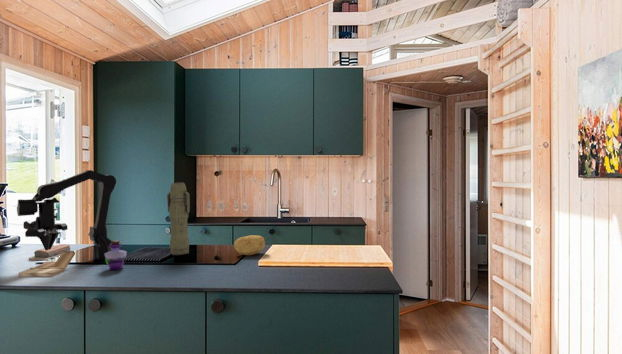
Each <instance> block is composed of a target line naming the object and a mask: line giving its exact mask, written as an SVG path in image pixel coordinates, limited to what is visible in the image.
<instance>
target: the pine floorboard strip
mask: <svg viewBox="0 0 622 354" xmlns="http://www.w3.org/2000/svg"><path fill="white" fill-rule="evenodd" d="M64 272H65V270H64V268H33V267H29V268H28V269H25V270H23V271H20V272H18V277H54V276H57V275H60V274H62V273H64Z"/></svg>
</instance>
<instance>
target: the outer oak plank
mask: <svg viewBox="0 0 622 354" xmlns="http://www.w3.org/2000/svg"><path fill="white" fill-rule="evenodd" d="M55 262H56V261H45V262H43V263H42V264H39V265H37V266H34V267H33V266H32V268H52V267H53V265H54V264H55Z"/></svg>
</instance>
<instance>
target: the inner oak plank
mask: <svg viewBox="0 0 622 354" xmlns="http://www.w3.org/2000/svg"><path fill="white" fill-rule="evenodd" d="M75 255H76V252H75V250H70V251H63V252H62V254H61V255H60V257H57V258H56V261H54V262H55V264H54V265H53V267H52V268H64V271H65V270H66V269H67V267H68V266H69V264H70V263H71V261H72V259H73V258H74V257H75Z"/></svg>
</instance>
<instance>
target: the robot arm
mask: <svg viewBox="0 0 622 354" xmlns="http://www.w3.org/2000/svg"><path fill="white" fill-rule="evenodd" d="M88 180H90V181H94V182H95V183H98V188H99V200H98V206H97V211H96V216H95V217H96V218H95V221H94V222H95V223H94V225H93V226H89V232H88V236H89V239H90V240H89V241H91V242H93V244H94V245H95V246H94V249H93V255H94V257H93V261H105V259H106V258H105V255H104V254H105V253H107V252H110V251H112V248H110V244H111V241H112V240H111V239H110V238H108V230H107V219H108V211H109V207H110V200H111V195H112V193H113V191H114V189H115V186H116V184H117V179H116V177H115V176H114V175H111V174H102V173H99V172H96V171H94V170H92V169H87V170H85V171H83V172H80V173H78V174H76V175H73V176H71V177H67V178H65V179H62V180H59V181H56V182H51V183H45V184H41V185H40V186H38V187H37V189H36V193H35V195H33V197H32V198H30V199H18V200H17V207H16V214H17V216H18V217H23V216H25V217H26V216H34V215H35V214H36V213H38V216H36V218H35V220H34V221H31V220H26V221H23V229H24V230H26V231H25V232H24V234H25V235H24V236H25V238H29V237H30V238H32V237H33V238H38V239H39V240H40V242H41V244H42V246H43V249H45V250H48V249H51V248H52V246H54V243H56V240H57V239H58V237H59V235H60V234H61V232H59V231H58V230H61V231H66V230H68V224H66V223H56V221H55V220H56V219H57V218H58V215H57V214H55V212H56V211H55V204H58V203H59V204H60V200H58V199H57V198H56V197H55V196H57V195H58V194H59V193H61V192H62V191H64V190H65V189H68V188H71V187H73V186H76V185H79V184H80V183H84V182H85V181H88ZM51 198H52V199H51Z"/></svg>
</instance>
